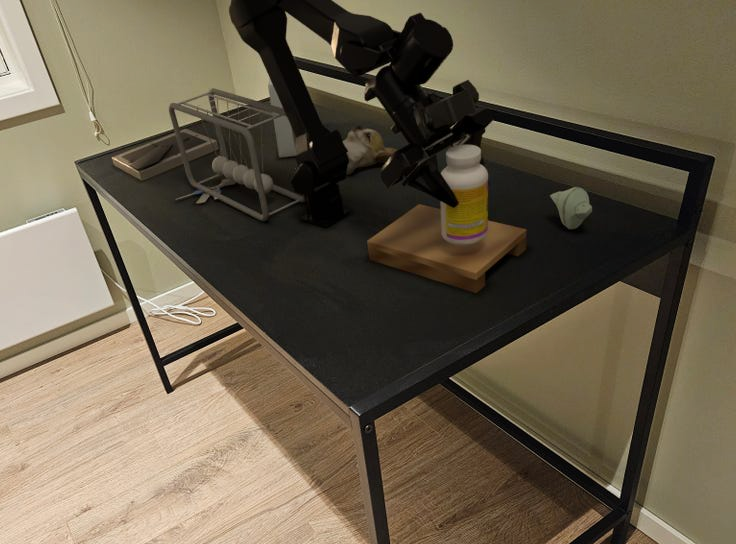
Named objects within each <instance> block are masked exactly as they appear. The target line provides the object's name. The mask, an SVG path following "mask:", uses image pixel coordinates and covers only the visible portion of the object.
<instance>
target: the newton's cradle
mask: <svg viewBox="0 0 736 544" xmlns="http://www.w3.org/2000/svg"><path fill="white" fill-rule="evenodd" d="M205 96H207V97H208V101H207V102H204V103H202V104H199V105H197V106H196V105H192V104H190V103H188V102H192V101H194V100H198V99H200V98H203V97H205ZM219 100H220V101H223V103H221V104H219ZM208 103H209V106H210V107H209V108H207V109H205V108H203V107H200V106H202V105H206V104H208ZM229 103H230V104H233V105H235V106H232V107H230V108H229ZM224 104H226V107H227V109H224V110H222V111H221V110H220V111H218V110H219V106H221V105H224ZM239 106H240V107H242V108H246V109H243V110H242V111H240V108H239ZM235 107H237V112H236V113H233V114H231V115H230V112H229V110H230V109H233V108H235ZM247 110H248V117H247V116H246V117H244V118H242V119H240V114H241V113H243V112H245V111H247ZM251 110H252V111H256V112H257V113H254V114H251ZM176 111H179V112H181V113H184V114H187V115H190V116H192V117H195V118H197V119H200V120H201V122H202V125H203V128H204V129H205V132H206V135H207V137H209V139H210V138H211V137H210V135H209V133H208V130H207V128H206V126H205V123H204V121H205V122H210V123H211V126H212V128H213V130H214V133H215V136H216V137H217V140H218V143H219V144H218V145H219V155H218V154H217V150H216V151H215V149H214V151H213V152H214V153H215V156H216V157H215V158H214V159H213V160H212V163H211V168H212V170H213V172H214V173H216V174H215V175H213V176H211V177H207V178H206V179H203V180H201V181H198V182H197V181H196V179H195V178H194V176H193V173H192V169H191V165H190V161H189V162H188V158H187V154H186V151H185V147H184V143H183V140H182V136H181V133H180V131H181V129H180V125H179V122H178V118H177V115H176ZM201 111H202V112H201ZM225 111H227V116H226V115H224V114H220V113H223V112H225ZM272 112H274V113H277V114H279V115H276V114H273V113H272ZM168 113H169V117H170V121H171V124H172V128H173V131H174V133H175V135H176V139H177V142H178V146H179V149H180V153H181V157H182V160H183V164H182V165H183V167H184V171H185V174H186V177H187V179H188V182H189V183H190V185H191V186H192V187H193V188H195V189H197V190H202V191H203V192H202V193H204V194H209V195H210V196H211V197H213V198H214V197H217V198H218V199H217V200H219V201H221V202H222V203H224V204H227V205H229V206H231V207H232V208H235V209H237V210H239V211H241V212H242V213H244V214H247V215H249V216H251V217H252V218H254V219H256V220H259V221H261V222H267V221H268V220H269V217H270V216H272V215H274V214H276V213H278V212H280V211H282V210H284V209H286V208H288V207H291V206H292V205H295V204H297V203H303V204H305V200H304V195H301V194H298V193H296V192H293V191H290V190H288V189H286V188H283V187H282V186H278V185H277V184H275V183H274V181H273V178H272V177H271V176H270V175H268V174H266V173H262V172H261V171H264V152H263V149H264V148H263V147H261V164H262V165H261V166H262V167H260V163H259V158H258V154H257V148H256V144H255V140H254V137H253V134H252V130H251V129H253V128H256V127H258V126H260V141H261V143H260V144H261V145H263V126H262V125H263V124H266V123H268V122H271V121H274V120H273V119H276V118H278V117H281V116H286V113H285V111H284V109H283V108H280V107H276V106H273V105H271V104H270V103H266V102H262V101H258V100H255V99H252V98H249V97H245V96H241V95H238V94H236V93H231V92H228V91H225V90H221V89H218V88H215V87H213V88H210V89H209V90H208V91H207V92H205V93H203V94H200V95H197V96H194V97H192V98H188V99H186V100H183V101H181V102H178V103H177V102H170V104H169V105H168ZM258 114H259V115H260V119H262V114H266V115H269V116H271V117H270V118H267V119H265V120H261V121H260V122H257V123H255V124H251V117H253V116H256V115H258ZM235 115H237V116H238V119H235V118H231V117H232V116H235ZM273 116H274V117H273ZM286 117H287V116H286ZM246 119H248V121H249V122H248V123H246V122H243V120H246ZM233 122H234V123H233ZM236 123H237V124H236ZM214 126H215V127H214ZM224 128H226V129H228V137H227V135H226V132H225V130H224ZM291 129H292V127H291ZM231 131H232V134H233V136H234V138H235V141H236V144H237V147H238V148H239V152H240V156H241V157H242V158H243V159H242V158H240V164H239V162H238V160H237V158H236V155H235V153H234V151H233V148H232V144H231V142H230V140H231ZM235 132H237V133H238V135H239V138H241V134H242V135H243V137H244V140H245V142H246V145H247V148H248V151H249V155H250V162H251V163H250V164H251V167H252V168H249V166H248V163H247V161H246V159H245V156H244V154H243V151H242V143H241V140H239V142H238V139H237V136H236V134H235ZM223 134H224V135H223ZM292 135H293V140H294V146H296V136H295V134H294V131H293V129H292ZM224 136H225V138H226V141H227V143H228V145H229V152H230V153H229V154H230V156H232V155H233V158H234V160H232V157H230V159H229V156H228V151H227V147H226V143H225V138H224ZM211 139H212V138H211ZM211 139H210V141H211ZM211 144H212V142H211ZM212 146H213V144H212ZM213 148H214V146H213ZM243 160H244V163H245V164H242V163H243V162H242V161H243ZM261 168H262V170H261ZM220 176H224V177H225V179H230V180H235V181H236V184H238V185H244V186H245V187H246V188H248V189H250V190H255V191H256V192H257V193H258V198H259V202H260V208H261V212H262V213H260V212H258V211H255V210H254V209H252V208H250V207H248V206H246V205H243V204H241V203H240V202H237V201H236V200H234V199H231V198H230V197H227V196H225V195H223V194H222V193H220V194H219V193H217V192H215V191H213V189H212V190H211V189H210V187H208V186H205V185H203V183H205V182H208V181H210V180H213V179H215V178H217V177H220ZM271 191H274V192H276V193H278V194H281V195H283V196H285V197H287V198H290V199H292V200H294V201H292V202H290V203H287V204H286V205H284V206H282V207H280V208H278V209H276V210H273V211H271V212H270V211H269V206H268V202H267V196H266V195H267V194H269V193H271Z"/></svg>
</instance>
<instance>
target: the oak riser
mask: <svg viewBox="0 0 736 544" xmlns="http://www.w3.org/2000/svg"><path fill="white" fill-rule="evenodd" d="M366 243H367V250H368V251H367V252H368V260H369V261H372V262H375V263H378V264H381V265H385V266H388V267H391V268H395V269H397V270H401V271H404V272H407V273H410V274H413V275H417V276H420V277H423V278H427V279H429V280H432V281H436V282H438V283H441V284H445V285H448V286H452V287H454V288H458V289H460V290H465V291H467V292H470V293H473V294H478V292H480V291H481V290H482V289H483V288H484V287H485V286H486V272H487V271H488V270H490V269H491V268H492V267H493V266H494V265H495V264H496V263H498V262H499V260H501V259H502V258H503V257H504V256H506V255H511V256H515V257H519V256H520V255H521V254H523V253H524V252H525V251H526V250H527V228H522V227H517V226H514V225H510V224H506V223H500V222H497V221H492V220H488V231H487V235H486V236H485V238H483V239H482V240H481V241H479V242H477V243H474V244H469V245H456V244H452V243H449V242H447V241H446V240H445V239H444V238H443V236H442V232H441V208H438V207H433V206H428V205H424V204H420V203H419V204H417V205H416V206H414V207H413V208H412V209H410V210H409V211H407V212H406V213H404V214H403V215H402V216H400V217H399V218H398V219H396V220H394V221H393V222H392V223H390V224H389V225H387V226H386V227H384V228H383V229H382V230H380V231H379V232H378V233H376V234H375V235H374V236H372V237H371V238H369V239H368V240H367V241H366Z"/></svg>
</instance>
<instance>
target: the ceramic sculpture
mask: <svg viewBox="0 0 736 544" xmlns="http://www.w3.org/2000/svg"><path fill="white" fill-rule="evenodd" d="M342 141H343V143H344V145H345V147H346V148H347V150H348V152H347V155H348V158H349V164H348V167H347V173H346V175H347V176H348V175H351V174H353V172H354V171H355V169H358V168H367V167H370V166H374V165H376V164H377V163H378V164H379V163H381V164H385V163H386V162H387V160H388V159H389V158H390V157H391V156H392V155H393V153H394V152H395V151H397V150H398V149H397V148H394V147H386V146H385V144H384V139H383V137H382V135H381V134H380V133H379V132H378V131H376V130H374V129H371V128H368V127H367V128H365V127H364V128H362V126H361V125H357V126H355V127H354V128H352V129H351V130H349V132H348V135H347V138H345V139H344V140H342Z"/></svg>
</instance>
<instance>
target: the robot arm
mask: <svg viewBox="0 0 736 544" xmlns="http://www.w3.org/2000/svg"><path fill="white" fill-rule="evenodd" d="M229 4H230V5H229V6H228V16H229V19H230V21H231V23H232V25H233V26H234V28H235V30H236V32H237V34H238V35H239V37H240V39H241V41H242V42H243V43H245V44H246V45H247V46H249V47H250V48H251V49H252V50H254V52H256V53H257V54H258V55H259V58H260V60H261V61H262V64H263V67H264V68H265V70H266V73H267V75H268V77H269V80H271V82H272V84H273V87H274V89H275V91H276V93H277V95H278V98H279V100H280V102H281V104H282V107H283V109H284V111H285V113H286V116H287V118H288V120H289V122H290V125H291V127H292V129H293V131H294V134H295V136H296V146H295V156H294V159H295V162H296V164H297V170H296V171H295V173H294V174H293V176H292V178H291V179H290V184H291V186H292V188H293V191H294V193H295V194H298V195H301V196H303V195H304V200H305V202H304V205H305V210H306V214H305V215H303V216H302V217H301V221H302V222H305V223H309V224H311V225H315V226H319V227H322V228H329V227H331V226H332V225H333V224H335V223H336V222H337V221H339V220H341V219H342V218H344V217H346V216H347V215H348V214H349V213H350V211H349V209H346V208H344V205H343V196H342V194H341V191H340V185H339V184H338V183H340V182H342V181H345V180H347V174H346V173H347V167H348V164H349V158H348V155H347V152H348V150H347V148H346V147H345V145H344V143H343V141H344V140H343V138H342V134H341V133H340V131H338V129H335V130H331V129H329V128H328V127H327V126H325V124H323V122H322V120H321V117H320V115H319V113H318V110H317V108H316V105H315V103H314V101H313V99H312V97H311V94H310V92H309V90H308V87H307V84H306V82H305V81H304V78H303V76H302V73H301V71H300V69H299V67H298V64H297V61H296V58H295V59H294V57H295V56H294V55H293V52H292V50H291V48H290V46H289V43H288V40H287V31H288V30H287V29H288V16H287V14H288V15H289V16H291V17H292V18H293V19H295V20H296V21H298V22H299V23H300V24H302V25H303V26H304V27H305V28H307V29H308V30H310V31H311V32H313V33H314V34H315V35H317V36H318V37H320V38H321V39H322V40H324V41H325V42H326V43H327V44H329V46H330V47H331V51H332V54H333V57H334V59H335V60H336V61H337V62H338V63H339V64H340V65H341V66H342V67H343V68H344V69H345V71H347V72H348V73H349V74H350V75H351V76H354V77H361V76H364V75H365V74H367V73H370V72H373V71H375V70H377V69H379V68H380V69H379V70H378V72H377V73H376V75H375V76H373V77H372V78H369V79H367V80H365V82H364V83H365V89H364V92H363V93H364V95H363V98H364V101H365V102H369V101H371V100H374V99H377V101H378V102H379V103H380V104H381V106H382V107H383V109H384V110H385V111H386V113H387V114H388V117H390V118H391V121H392V122H393V123H394V124H393V125H392V127H390V131H392V133H393V134H394V135H397V134H399V133H401V134H402V136H403V138H404V139H405V140H406V142H407V143H408V144H407V145H405V146H403V147H401V148H399V149H397V151H395V152H394V153H393V155H392V156H391V157H390V158H389V159H388V160H387V162H386V163H383V165H382V166H381V167H380V168H379V170H380V171H379V172H380V179H381V181H382V182H383V184H384V185H385V187H386V188H387V189H388V190H389V189H391V188H392V187H394V186H396V185H398V184H399V183H401V182H402V183H401V185H402V186H403V187H406V186H409V187H411V188H414V189H416V190H417V191H420V192H422V193H425V194H427V195H428V196H431V197H432V198H434V199H436V200H437V201H439V202H440V201H441V202H443V203H445V204H447V205H449V206H451V207H452V208H455V207H456V206H457V205H458V204H459V202H458V200H457V198H456V196H455V195H454V193H453V191H452V190H451V188H450V187H449V185H448V184H447V182H446V181H445V179H444V178H443V176H442V175H441V171H440V170H439V163H438V155H437V154H439V153H441V152H442V151H444V150H446V149H447V148H452V147H454V146H458V145H474V146H477V147H479V148H480V149H481V150H482V146H481V145H482V139H483V135H484V134H485V133H486V128H487V127H488V126H489V125H490V124H492V122H493V121H494V120H495V119H494V117H493V116H492V114H491V113H490V111H489V110H488V109H487V108H486V107H480V106H478V107H476V105H475V104H476V103H478V102H479V100H480V93H479V91H478V90H477V88H476V87H475V85H474V84H473V83H472V82H471V81H470V80H469V79H466V80H464V81H461V82H460V83H457V84H456V85H454V86H452V94H451V95H449V96H447V97H445V98H442V99H441V97H440V96H439V95H438V94H437V93H435V92H432V93H431V94H427V92H426V91H425V89H424V88H423V87H422V85H425V84H427V82H429V81H430V79H431V78H432V77H433V76H434V75H435V73H436V72H437V71H438V69H439V68H440V67H441V66H442V64H443V63H444V62H445V61H446V59H447V58H448V57H449V56H450V55H451V53H452V51H453V49H454V40H453V37H452V35H451V33H450V31H449V30H448V28H447V27H445V26H443V25H441V24H440V23H439V22H437V21H435V20H433V19H428V18H425V16H424V15H423V13H422V12H417V13H415V14H412V15H410V16H409V17H408V18H407V20H406V22H405V24H404V26H403V28H402V30H401V31H398V30H395V29H393V27H391V26H390V25H389V24H388V23H387V22H385V21H383V20H381V19H378V18H376V17H374V16H371V15H368V14H367V15H365V14H358V13H354V12H351V11H348V10H347V9H345V8H344V7H342V6H341V5H340V4H338V3H337V2H335V1H334V0H230V3H229ZM479 164H481V165H483V166H484V167H485V168H486V164H485V160H484V157H483V153H482V151H481V160H480V162H479ZM404 178H405V179H404ZM490 184H491V183H490V179H489V178H488V187H489V186H491V185H490Z"/></svg>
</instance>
